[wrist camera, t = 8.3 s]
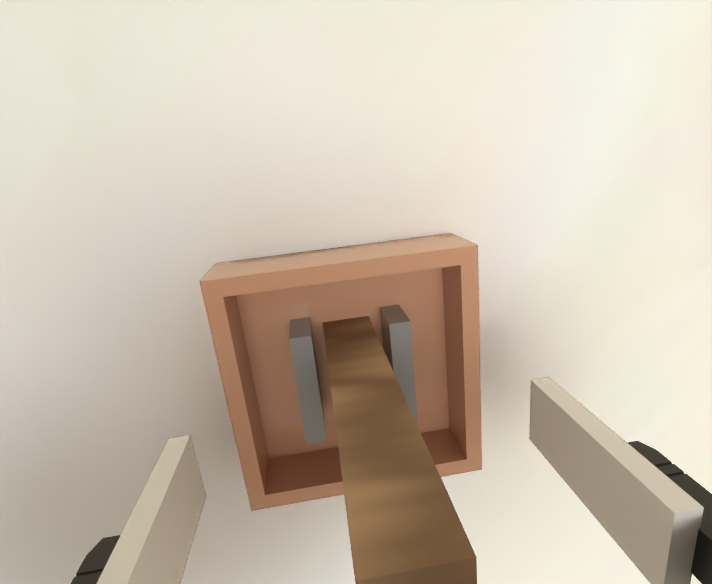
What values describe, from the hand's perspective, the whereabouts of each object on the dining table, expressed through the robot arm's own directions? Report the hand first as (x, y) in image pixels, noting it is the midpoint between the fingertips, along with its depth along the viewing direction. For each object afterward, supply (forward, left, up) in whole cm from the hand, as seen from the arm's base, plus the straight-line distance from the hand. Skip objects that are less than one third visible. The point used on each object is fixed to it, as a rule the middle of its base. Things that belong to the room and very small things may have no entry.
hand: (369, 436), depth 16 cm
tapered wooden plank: (0, 0, -7) cm, 7 cm away
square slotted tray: (0, 0, -7) cm, 7 cm away
